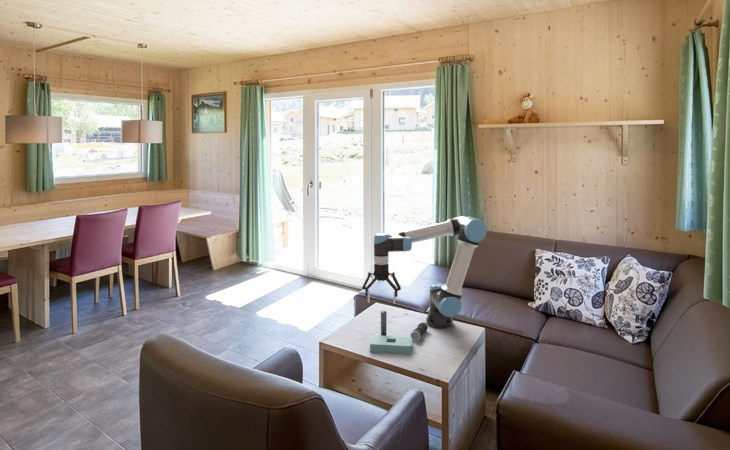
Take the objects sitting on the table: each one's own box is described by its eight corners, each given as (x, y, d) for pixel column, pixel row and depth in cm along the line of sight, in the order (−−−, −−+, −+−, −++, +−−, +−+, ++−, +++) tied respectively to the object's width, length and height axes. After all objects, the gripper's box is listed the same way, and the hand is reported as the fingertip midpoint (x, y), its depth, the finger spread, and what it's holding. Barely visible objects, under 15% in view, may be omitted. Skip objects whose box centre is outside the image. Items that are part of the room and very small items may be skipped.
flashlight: (418, 329, 245) (419, 320, 245) (428, 331, 243) (428, 322, 242) (410, 340, 232) (410, 330, 231) (420, 342, 229) (420, 332, 229)
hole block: (411, 344, 226) (411, 337, 226) (410, 354, 215) (410, 346, 215) (372, 342, 229) (372, 335, 228) (370, 351, 218) (370, 344, 218)
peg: (386, 336, 237) (386, 311, 235) (386, 338, 234) (386, 313, 232) (381, 335, 237) (381, 310, 235) (380, 338, 234) (380, 312, 232)
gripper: (405, 261, 232) (405, 300, 236) (358, 260, 235) (359, 299, 239) (405, 265, 225) (405, 305, 228) (356, 264, 228) (357, 303, 231)
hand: (381, 302), depth 234 cm, fingers open, 13 cm apart
